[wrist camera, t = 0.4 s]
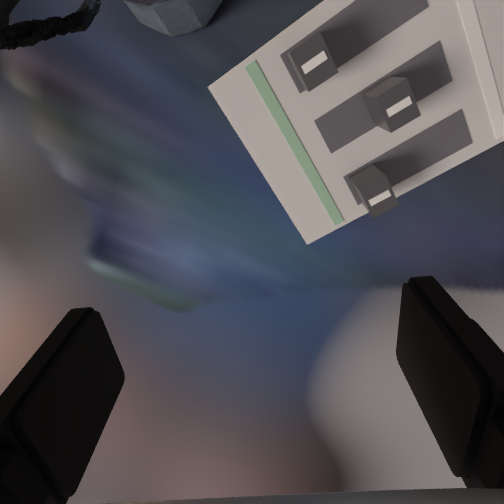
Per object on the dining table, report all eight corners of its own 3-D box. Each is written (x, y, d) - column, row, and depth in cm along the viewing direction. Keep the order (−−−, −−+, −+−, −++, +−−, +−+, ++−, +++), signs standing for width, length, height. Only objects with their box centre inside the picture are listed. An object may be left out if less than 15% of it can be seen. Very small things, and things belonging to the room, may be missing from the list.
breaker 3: (372, 163, 31) (386, 176, 28) (384, 189, 33) (399, 205, 29) (348, 177, 32) (359, 191, 28) (361, 202, 33) (373, 218, 30)
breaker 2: (388, 76, 28) (407, 77, 24) (401, 109, 29) (421, 115, 25) (361, 93, 29) (376, 97, 25) (375, 125, 30) (391, 133, 26)
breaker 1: (311, 35, 27) (319, 30, 23) (328, 71, 28) (338, 72, 24) (285, 54, 27) (289, 52, 24) (303, 88, 28) (309, 92, 25)
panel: (482, -117, 24) (501, -133, 22) (535, 112, 31) (552, 115, 29) (210, 86, 31) (207, 87, 29) (305, 236, 38) (307, 245, 36)
